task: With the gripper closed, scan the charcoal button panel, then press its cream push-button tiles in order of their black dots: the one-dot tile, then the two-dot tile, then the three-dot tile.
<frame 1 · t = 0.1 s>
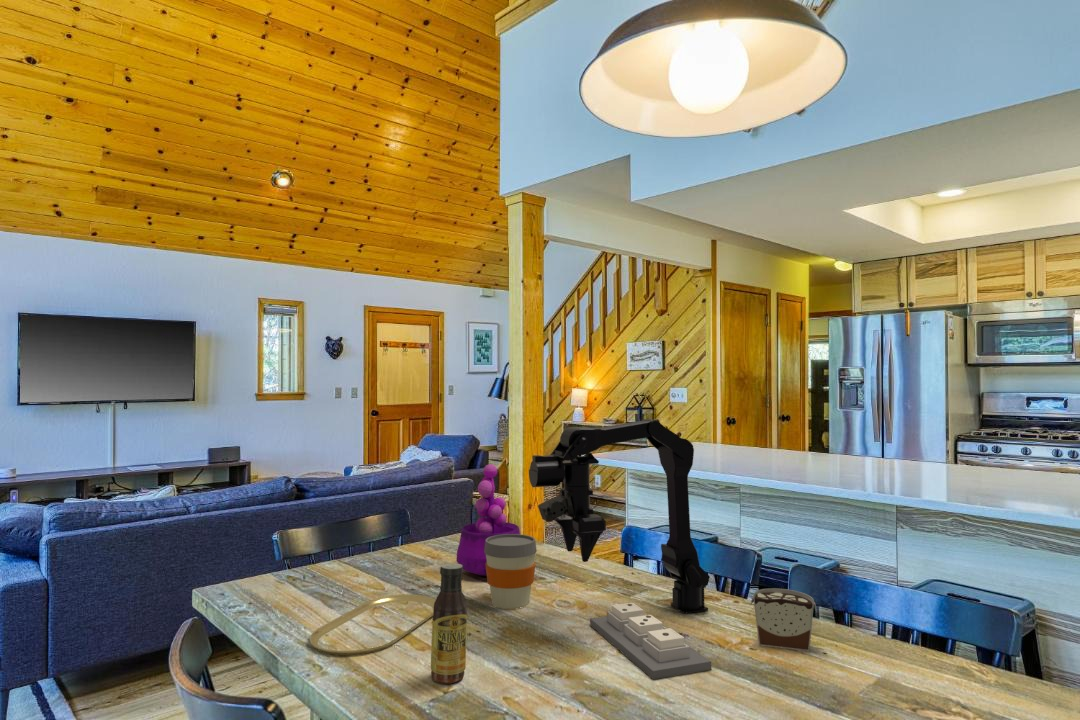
hand: (577, 556, 146), 15 cm above the table, tool pointing down, fingers open, 9 cm apart
food container: (783, 643, 135), on the table
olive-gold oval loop: (379, 627, 145), on the table
sauce bottle: (449, 678, 119), on the table
tile three dots: (645, 625, 133), point 4 cm above the table, slide at 0.0 cm
decorative plant: (490, 573, 185), on the table
reusable coffee cup: (510, 603, 159), on the table
button panel: (645, 645, 133), on the table
tile one dot: (665, 639, 126), point 4 cm above the table, slide at 0.0 cm
tile two dots: (627, 612, 141), point 4 cm above the table, slide at 0.0 cm
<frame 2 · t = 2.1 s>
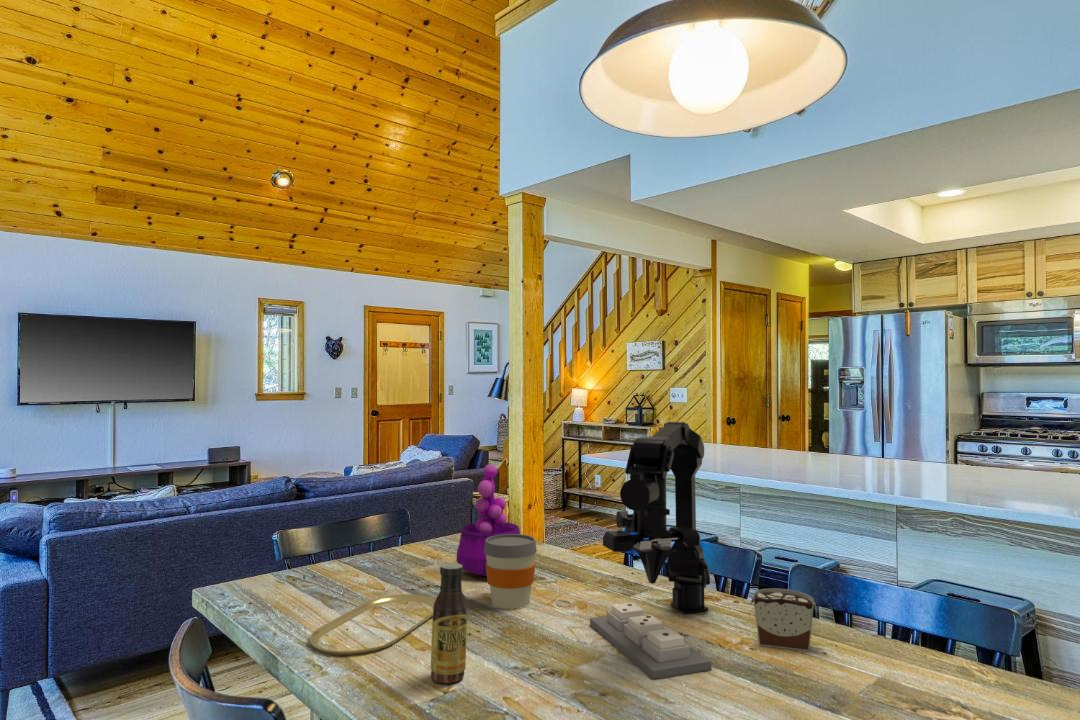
hand: (651, 582, 130), 13 cm above the table, tool pointing down, fingers closed
nothing on the table moved.
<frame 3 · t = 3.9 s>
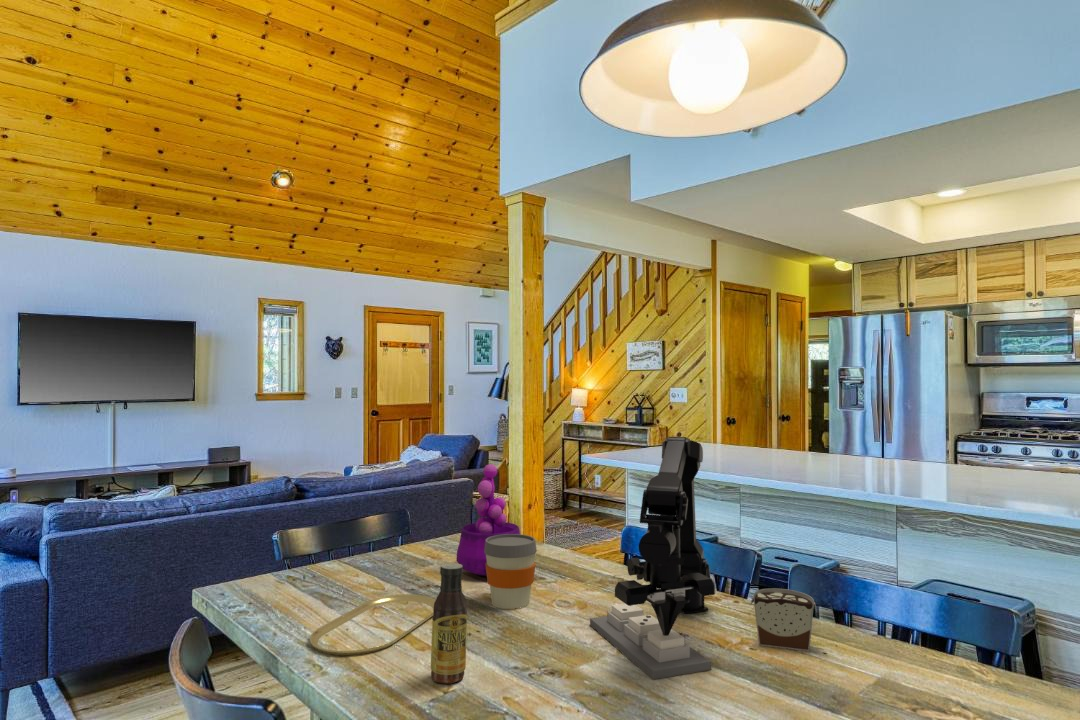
hand: (665, 634, 126), 5 cm above the table, tool pointing down, fingers closed, pressing on tile one dot
tile one dot: (665, 639, 126), point 4 cm above the table, slide at 0.0 cm, touching gripper
everything else where it was.
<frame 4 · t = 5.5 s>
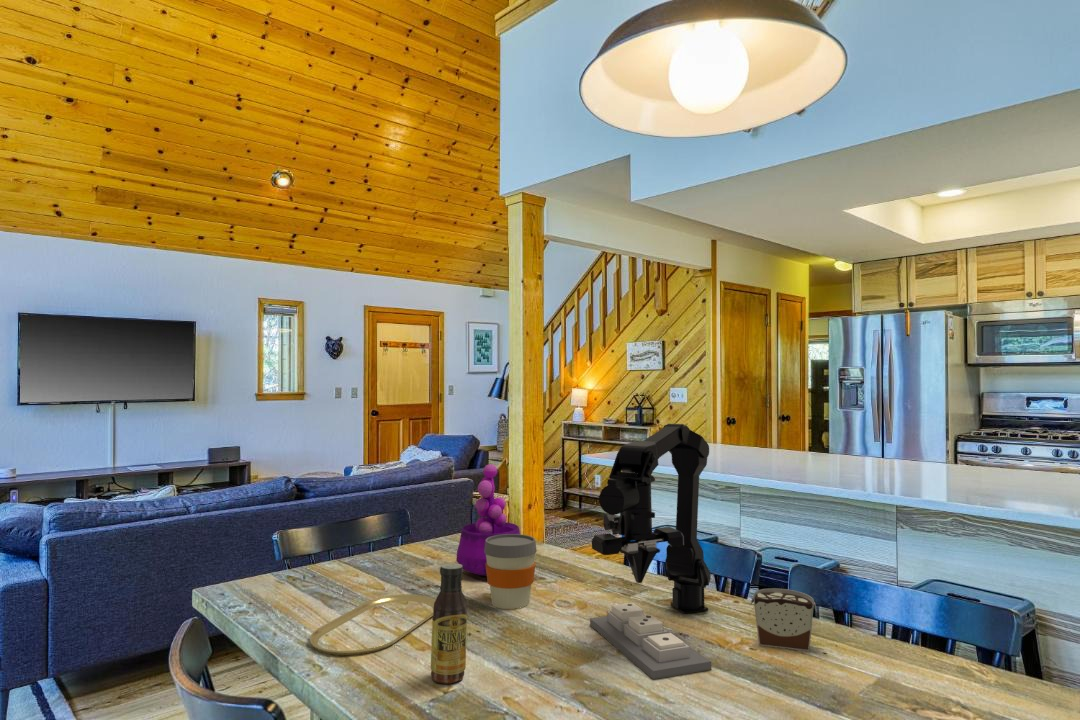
hand: (638, 582, 137), 12 cm above the table, tool pointing down, fingers closed
tile one dot: (665, 644, 126), point 3 cm above the table, slide at 0.9 cm
everything else where it was.
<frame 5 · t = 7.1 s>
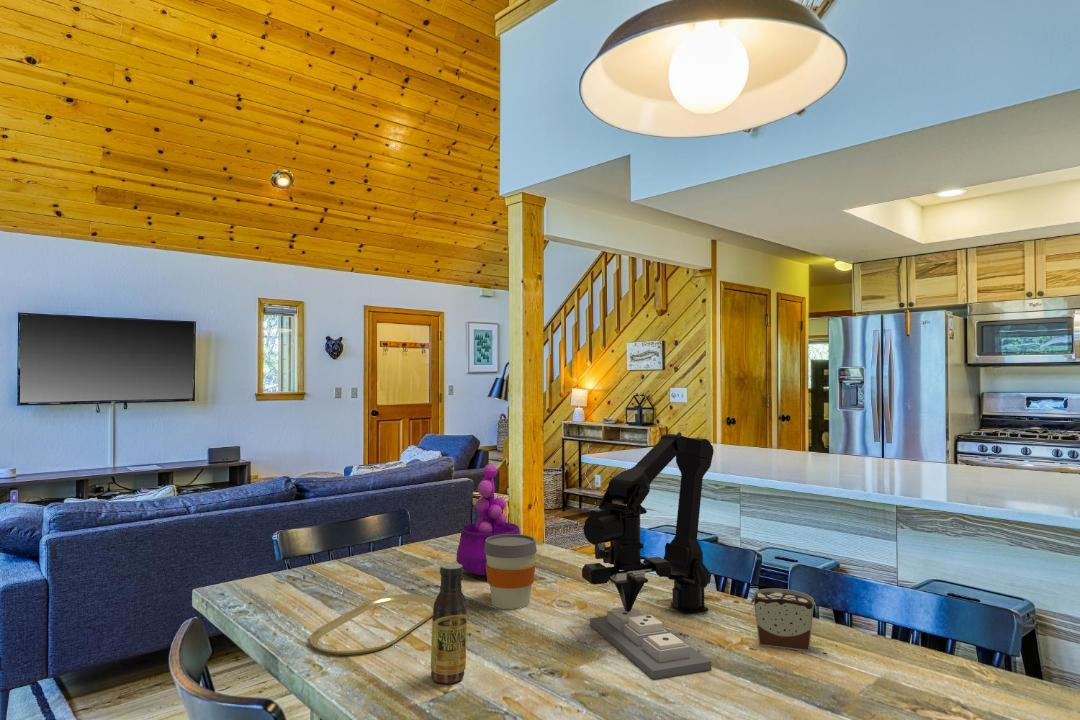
hand: (627, 611, 141), 4 cm above the table, tool pointing down, fingers closed, pressing on tile two dots
tile two dots: (627, 615, 141), point 3 cm above the table, slide at 0.7 cm, touching gripper
everything else where it was.
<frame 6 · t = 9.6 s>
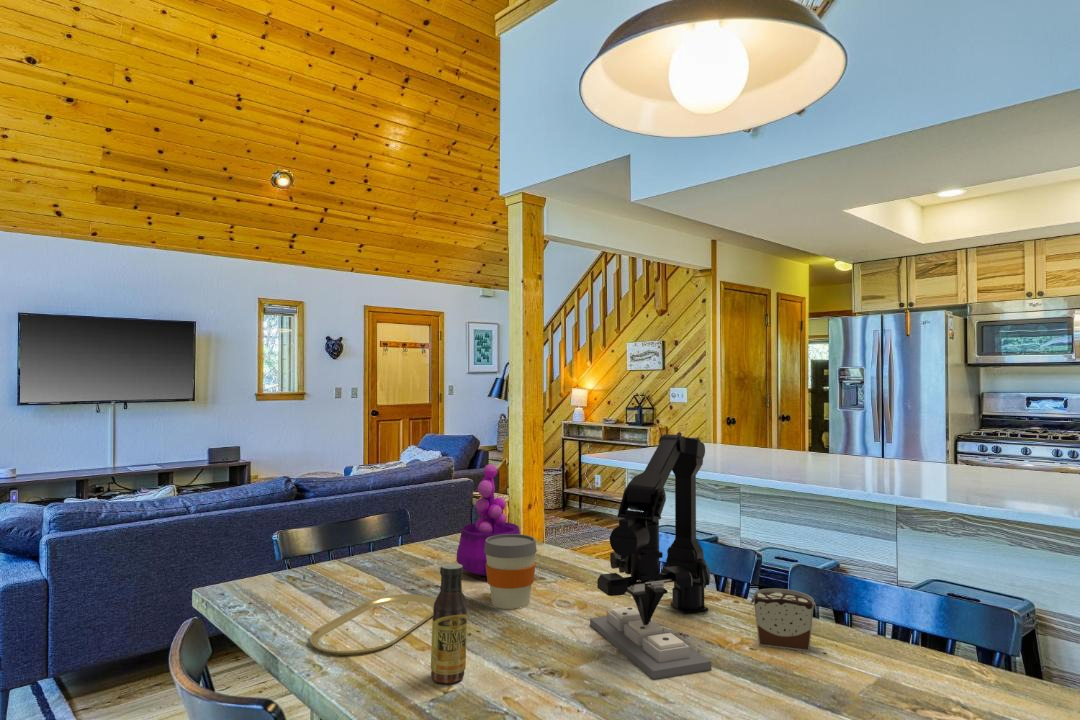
hand: (645, 623, 133), 4 cm above the table, tool pointing down, fingers closed, pressing on tile three dots
tile three dots: (645, 629, 133), point 3 cm above the table, slide at 0.8 cm, touching gripper
tile two dots: (627, 615, 141), point 3 cm above the table, slide at 0.8 cm
everything else where it was.
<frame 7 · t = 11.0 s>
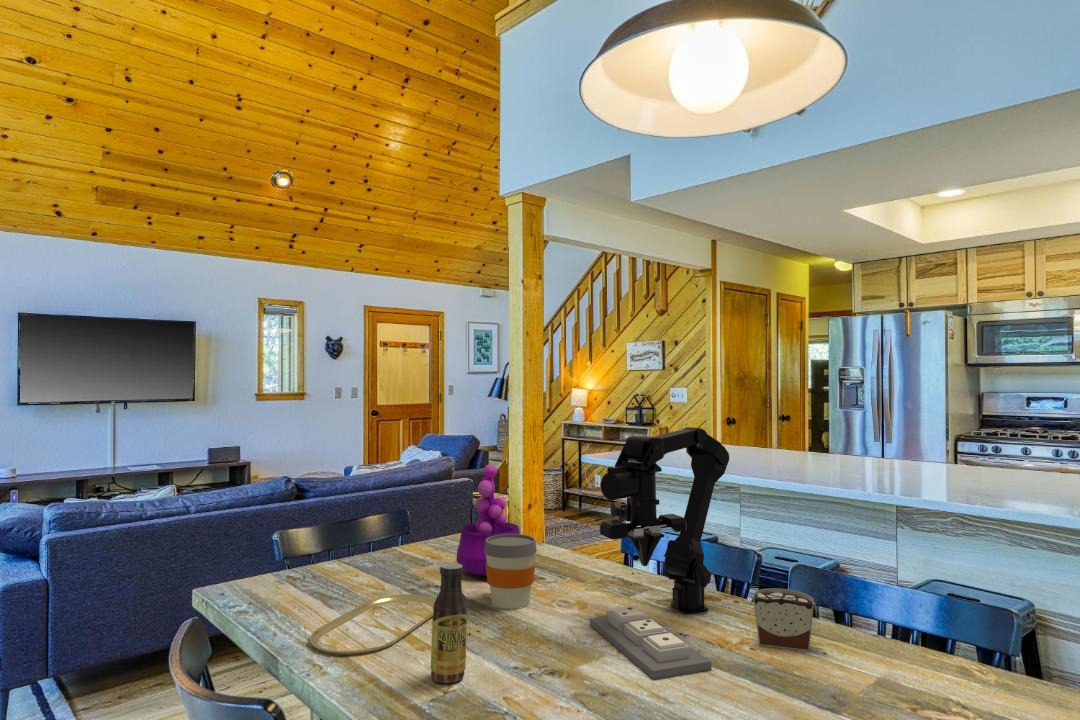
hand: (644, 565, 145), 13 cm above the table, tool pointing down, fingers closed
tile three dots: (645, 629, 133), point 3 cm above the table, slide at 0.9 cm
everything else where it was.
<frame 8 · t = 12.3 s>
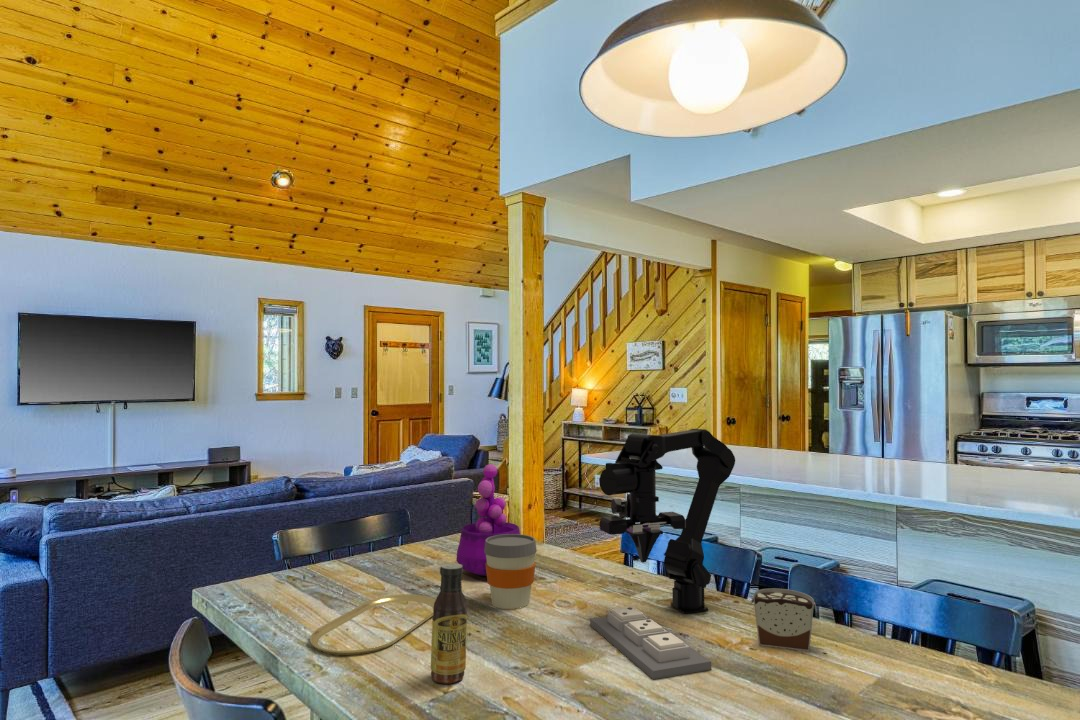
hand: (643, 562, 147), 13 cm above the table, tool pointing down, fingers closed
nothing on the table moved.
at the end: tile one dot slide at 0.9 cm; tile two dots slide at 0.8 cm; tile three dots slide at 0.9 cm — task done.
